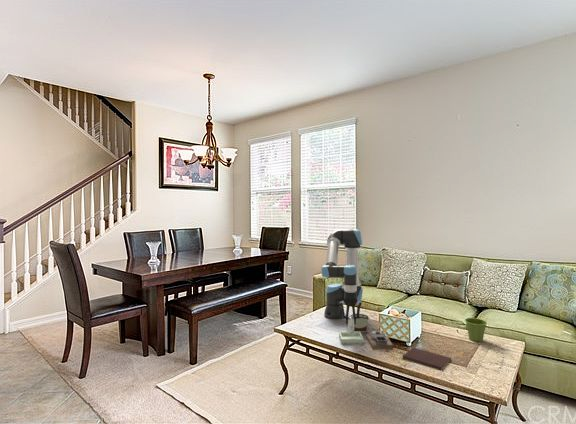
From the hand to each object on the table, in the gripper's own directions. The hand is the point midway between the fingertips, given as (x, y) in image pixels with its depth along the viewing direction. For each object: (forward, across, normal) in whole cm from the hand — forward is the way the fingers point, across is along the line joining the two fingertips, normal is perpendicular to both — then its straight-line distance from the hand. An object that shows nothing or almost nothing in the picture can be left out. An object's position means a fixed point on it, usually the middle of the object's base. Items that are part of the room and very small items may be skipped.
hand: (350, 329), depth 202 cm
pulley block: (+6, +16, -4) cm, 18 cm away
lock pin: (+3, 0, 0) cm, 3 cm away
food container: (+7, +8, +17) cm, 20 cm away
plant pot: (+7, +75, 0) cm, 75 cm away
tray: (+6, 0, 0) cm, 6 cm away
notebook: (+7, +36, -25) cm, 44 cm away
